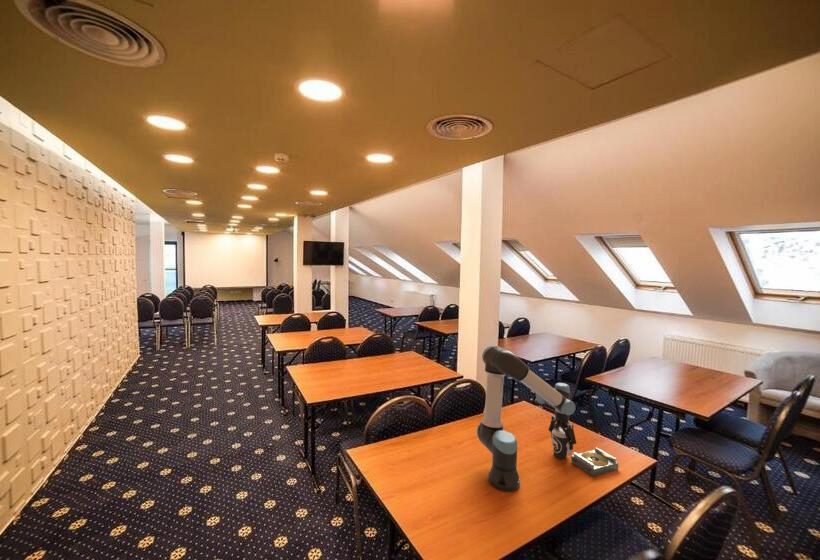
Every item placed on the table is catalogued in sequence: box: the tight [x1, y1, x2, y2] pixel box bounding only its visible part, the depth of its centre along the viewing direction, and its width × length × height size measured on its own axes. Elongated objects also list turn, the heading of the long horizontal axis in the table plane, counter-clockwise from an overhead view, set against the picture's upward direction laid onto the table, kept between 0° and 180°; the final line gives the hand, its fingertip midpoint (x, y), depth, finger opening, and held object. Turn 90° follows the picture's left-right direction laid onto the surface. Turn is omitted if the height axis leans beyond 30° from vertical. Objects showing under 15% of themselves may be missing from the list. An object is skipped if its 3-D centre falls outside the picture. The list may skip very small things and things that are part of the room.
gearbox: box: [570, 447, 619, 478], centre depth 185 cm, size 19×14×6 cm
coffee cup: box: [552, 427, 569, 460], centre depth 195 cm, size 10×10×15 cm
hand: (561, 449), depth 194 cm, fingers open, 11 cm apart
